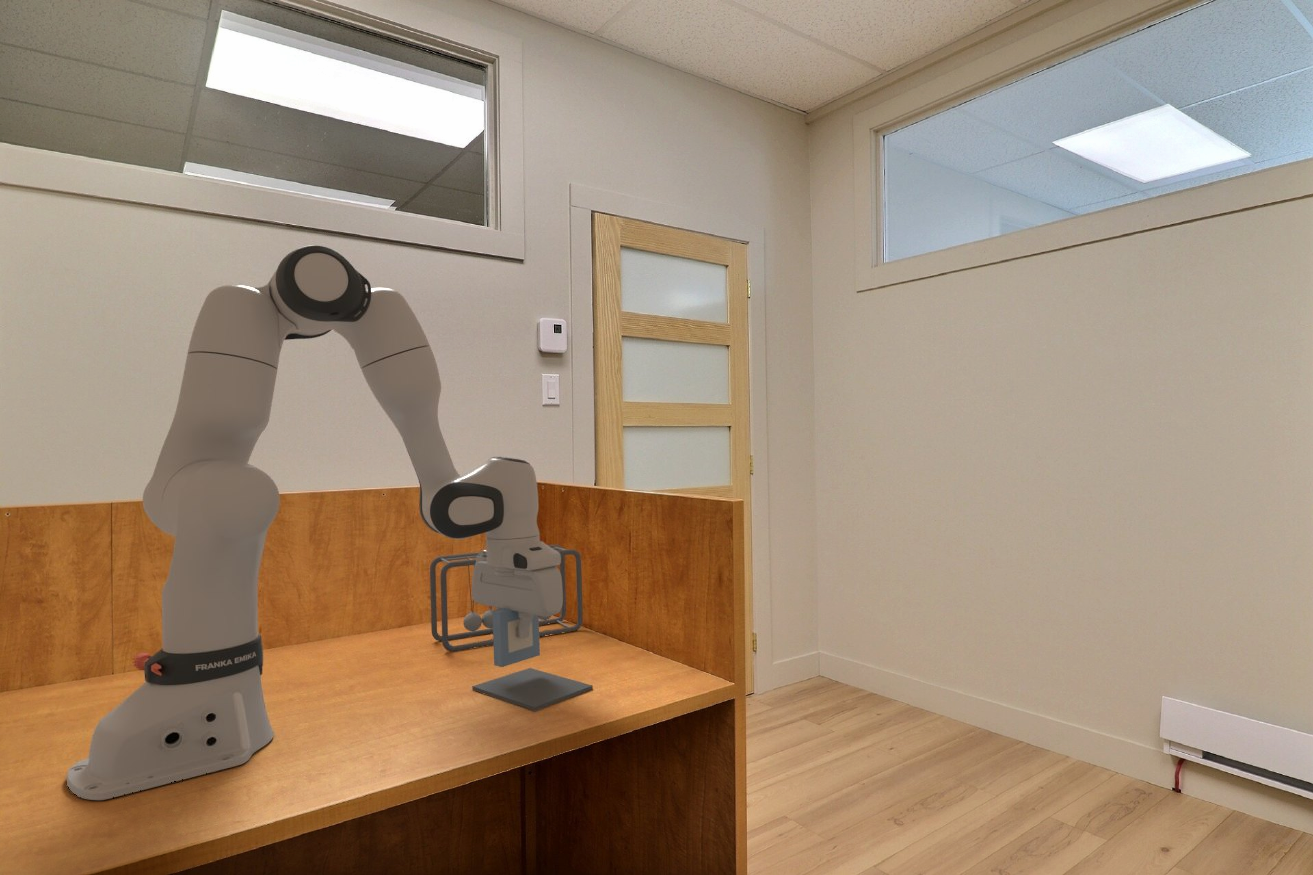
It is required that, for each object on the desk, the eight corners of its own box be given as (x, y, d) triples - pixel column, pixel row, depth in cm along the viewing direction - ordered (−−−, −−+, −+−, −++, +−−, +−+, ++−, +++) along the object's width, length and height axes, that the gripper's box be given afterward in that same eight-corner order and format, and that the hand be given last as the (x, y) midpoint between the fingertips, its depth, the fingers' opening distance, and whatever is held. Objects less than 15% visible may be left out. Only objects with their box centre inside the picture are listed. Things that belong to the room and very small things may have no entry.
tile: (540, 655, 122) (538, 602, 122) (501, 667, 116) (500, 612, 116) (532, 653, 123) (530, 601, 123) (494, 665, 117) (492, 610, 117)
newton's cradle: (565, 621, 163) (563, 543, 163) (584, 630, 154) (581, 548, 154) (431, 642, 148) (429, 557, 148) (443, 654, 139) (440, 563, 139)
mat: (534, 711, 107) (534, 707, 107) (472, 689, 117) (472, 686, 117) (592, 689, 116) (592, 685, 116) (530, 671, 126) (529, 667, 126)
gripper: (461, 551, 124) (464, 631, 124) (537, 560, 110) (540, 650, 110) (491, 546, 129) (494, 623, 129) (567, 555, 115) (570, 640, 115)
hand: (516, 635), depth 119 cm, fingers closed on tile, 2 cm apart
